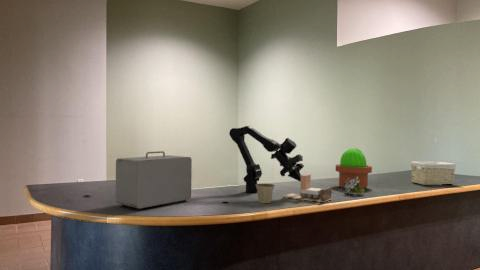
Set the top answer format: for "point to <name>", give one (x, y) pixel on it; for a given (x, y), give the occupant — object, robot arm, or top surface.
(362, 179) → the potted cactus
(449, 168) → the storage basket
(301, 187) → the brown piece
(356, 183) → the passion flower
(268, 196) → the flower pot
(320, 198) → the tan cardboard slab
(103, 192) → the top surface
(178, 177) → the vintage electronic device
